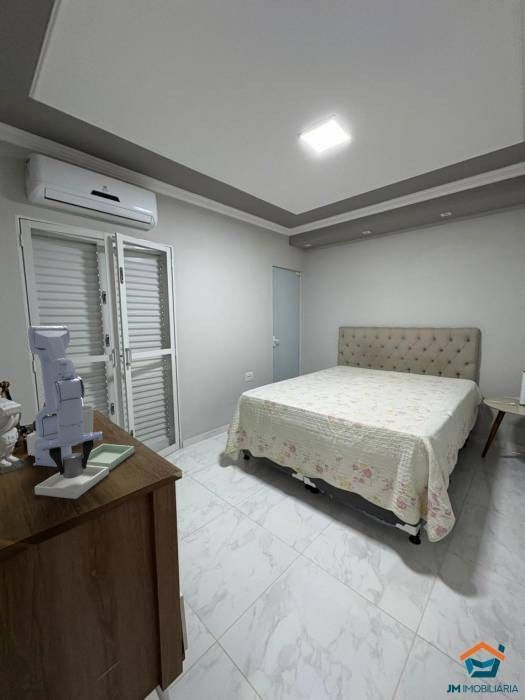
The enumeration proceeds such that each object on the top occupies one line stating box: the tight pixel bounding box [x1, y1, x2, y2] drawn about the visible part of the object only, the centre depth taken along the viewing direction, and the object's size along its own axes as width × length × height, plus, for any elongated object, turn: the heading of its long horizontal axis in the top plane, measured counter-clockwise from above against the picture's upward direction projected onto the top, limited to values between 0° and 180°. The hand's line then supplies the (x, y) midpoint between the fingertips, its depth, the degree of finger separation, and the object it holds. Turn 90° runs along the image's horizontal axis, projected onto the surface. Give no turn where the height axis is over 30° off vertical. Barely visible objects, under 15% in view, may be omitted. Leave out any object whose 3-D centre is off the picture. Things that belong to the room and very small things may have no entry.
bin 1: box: [34, 465, 110, 500], centre depth 77 cm, size 12×12×3 cm
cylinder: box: [62, 452, 84, 479], centre depth 77 cm, size 5×5×5 cm
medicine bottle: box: [26, 419, 38, 457], centre depth 96 cm, size 7×7×12 cm
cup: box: [82, 405, 95, 433], centre depth 107 cm, size 8×8×12 cm
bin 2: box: [87, 443, 135, 471], centre depth 91 cm, size 12×12×3 cm
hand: (73, 470), depth 77 cm, fingers closed on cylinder, 5 cm apart
